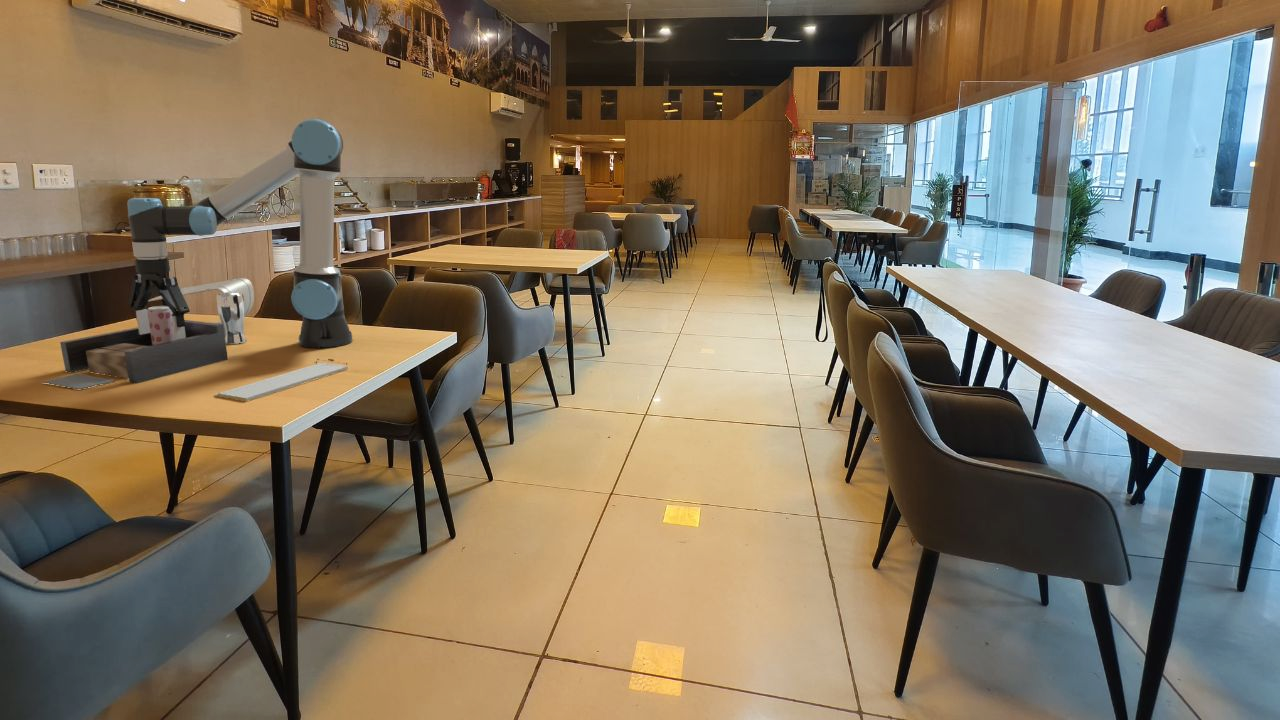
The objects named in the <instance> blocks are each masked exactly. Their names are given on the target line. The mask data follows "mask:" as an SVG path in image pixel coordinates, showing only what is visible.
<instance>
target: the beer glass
mask: <svg viewBox="0 0 1280 720" xmlns="http://www.w3.org/2000/svg"><path fill="white" fill-rule="evenodd" d="M216 303H217V304H216V305H217V313H218V315H219V316H218V317H219V319H220V322H221V323H222V324H223V326H224V334H225V341H226V345H229V344H233V345H240V344H239V343H241V344H245V343H246V342H247V338H246V335H245V331H244V330H245V329H244V328H245V327H244V326H245V325H244V324H245V323H244V321H245V316H244V304H243V296H242V294H241V293H240V292H226V293H223V292H220V293H217V294H216ZM244 342H245V343H244Z"/></svg>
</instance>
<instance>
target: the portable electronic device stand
mask: <svg viewBox="0 0 1280 720" xmlns="http://www.w3.org/2000/svg"><path fill="white" fill-rule="evenodd" d="M180 290H181V293H182V295H183V296H187V295H193V294H197V293H204V292H208V291H209V292H211V291H216V290H217V291H220V292H221V293H226V292H240V293H241V294H242V299H243V304H244V317H245V316H247V315H248V314H249V313H250V312H251V311H252V308H253V307H254V306H253V305H254V302H255V289H254V286H253V284H252V282H251V280H250V279H248V278H245V277H239V278H232V279H228V280H222V281H218V282H211V283H205V284H200V285H199V284H198V285H193V286H187V287H181V288H180ZM159 300H164V299H163V298H162V297H161V296H160V295H158V296H155V297H154V298H149V300H148V302H147V303H149V302H154V301H159ZM206 322H207V323H216V324H222V323H221V321H215V322H214V321H211V322H209V321H206Z"/></svg>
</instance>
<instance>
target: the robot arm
mask: <svg viewBox="0 0 1280 720" xmlns="http://www.w3.org/2000/svg"><path fill="white" fill-rule="evenodd" d="M343 150H344V140H343V137H342V135H341V134H340V131H339V130H338V129H337V128H336V127H334V125H332V124H331V123H330V122H328V121H326V120H323V119H319V118H310V119H309V118H307V119H306V120H303V121H301V122H300V123H298V125H296V126H295V128H294V130H293V132H292V135H291V140H290V141H289V142H287V144H286V148H285V149H283V150H282V151H280V152H279V153H277V154H276V155H274V156H272V157H271V158H269V159H267V160H266V161H264V162H262V163H261V164H259V165H257V166H256V167H254V168H253V169H251V170H250V171H248V172H246V173H245V174H243V175H241V176H240V177H237V178H236V179H235V180H233V181H231V182H230V183H228V184H227V185H225V186H223V187H222V188H220V189H219V190H216V191H215V192H214V193H212V194H210V195H209V196H207V197H206V198H204V199H201V200H200V201H199V202H197V203H195V204H192V205H188V206H187V205H185V206H184V205H183V206H181V205H180V206H177V205H176V206H169V205H163V203H162V201H161V198H157V197H155V198H154V197H132V198H129V199H128V200H127V203H126V204H127V218H128V223H129V229H130V233H131V234H130V236H131V243H132V245H131V246H132V251H133V252H132V253H133V257H135V258H136V259H134V263H135V264H134V265H135V271H136V273H137V274H135V273H134V274H132V276H131V277H132V278H131V279H132V284H131V289H130V293H129V298H128V302H127V306H128V307H129V308H132V309H133V311H134V312H135V319H136V323H137V327H138V330H139V334H140V335H142V334H147V333H151V332H150V326H149V319H148V313H147V312H148V307H147V304H148V303H149V302H148V300H150V299H151V296H152V294H157V295H158V296H161V297H162V298H163V299H162V300H163V301H164V302H165V304H166V306H168V307H169V308H170V310H171V311H172V313H173V314H172V316H171V317H172V325H173V332H174V340H178V339H183V338H186V335H185V327H184V326H185V321H184V320H185V314H188V313H190V308H189V306H188V303H187V301H186V299H185V297H184V295H182V293H181V290H180V289H181V288H180V286H179V283H178V279H177V277H176V276H174V277H173V276H172V277H168V274H167V273H169V272H170V271H171V267H170V261H169V259H168V255H169V254H168V247H167V246H168V245H167V238H166V237H167V236H200V237H202V236H211V235H215V233H217V229H218V226H219V225H221V224H222V223H224V222H226V221H227V220H228V219H230V218H232V217H234V216H235V215H237V214H238V213H240V212H242V211H243V210H245V209H246V208H248V207H249V206H251V205H253V204H255V203H256V202H258V201H259V200H260V199H262V198H264V197H265V196H268V195H269V194H271V193H273V192H274V191H276V190H277V189H278V188H280V187H282V186H283V185H286V184H287V183H289V182H290V181H292V180H293V179H295V178H297V177H298V176H299V182H300V184H299V186H300V187H299V195H300V196H299V264H298V265H296V267H294V268H293V289H292V291H291V295H290V299H291V303H292V306H293V308H294V310H295V311H296V313H298V314H299V315H301V316H302V323H301V327H300V334H299V335H298V344H299V346H300V345H301V347H303V346H305V348H310V347H319V348H318V349H320V347H323V349H324V347H325V348H333V347H334V346H335V347H340V346H344V345H348V344H351V343H352V342H353V340H354V339H353V333H352V331H351V330H350V327H349V325H348V322H347V319H346V317H345V308H344V298H343V287H342V279H343V277H342V274H341V271H340V268H338V267H335V266H334V235H335V234H334V231H335V230H334V229H335V225H334V224H335V223H334V222H335V221H334V220H335V179H336V178H337V177H338V176H340V174H341V168H342V167H341V165H342V163H341V161H342V160H341V159H342V152H343Z"/></svg>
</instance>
